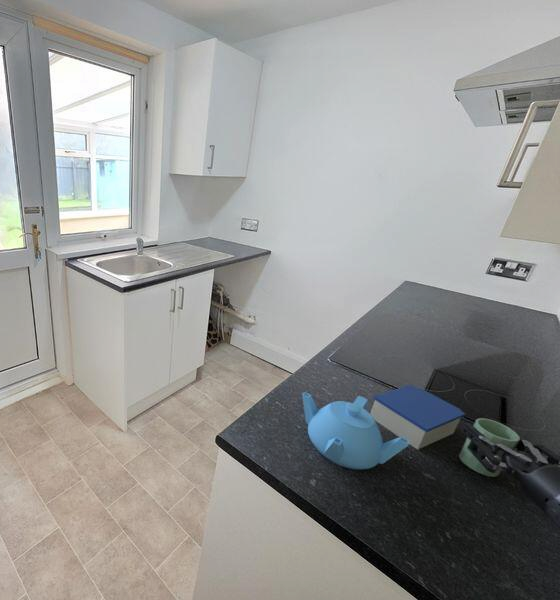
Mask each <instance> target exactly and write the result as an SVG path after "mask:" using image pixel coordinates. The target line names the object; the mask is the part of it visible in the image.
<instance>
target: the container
mask: <svg viewBox="0 0 560 600" xmlns="http://www.w3.org/2000/svg"><path fill="white" fill-rule="evenodd" d="M373 400H374V401H373V405H372V407H371V410H370V412H369V413H370V414H371V415H372V417H373V418H374V420H375V422H376V423H378V424H379V425H381V426H383V427H384V428H385V429H387V430H388V431H389V432H392V434H393V435H395V436H397V438H399V437H400V436H401V437H403V438H405V439H407V440H409V445H410V446H412V447H413V448H414V449H415V450H420V449H422V448H424V447H427V446H429V445H431V444H434V443H436V442H438V441H440V440H442V439H444V438H447V437H449V436H451V435H454V433H455V431H456V429H457V427H458V425H459V422H460V421H461V419H462V418H463V417H465V416H466V413H465V412H463V411H462V408H459V407H457V406H455V405H453V404H451V403H450V402H448V401H445V400H444V399H442V398H440V397H439V396H436V395H434V394H432V393H430V392H429V391H427V390H425V389H423V388H421V387H416V386H414V385H413V384H408V385H405V386H402V387H399V388H396V389H393V390H389V391H387V392H383V393H379V394H377V395H374V396H373Z"/></svg>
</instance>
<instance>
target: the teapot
mask: <svg viewBox="0 0 560 600" xmlns="http://www.w3.org/2000/svg"><path fill="white" fill-rule="evenodd" d="M301 397H302V405H303V411H304V412H303V413H304V418H305V423H306V424H307V433H308V437H309V439H310V441H311V442H312V445H313V446H314V447H315V448H316V450H317V451H318V452H319V453H320V454H321V455H322V456H323V457H324V458H325V459H327V460H328V461H330V462H331V463H334V464H335V465H338V466H339V467H342V468H346V469H350V470H368V469H372V468H374V467H376V466H377V465H378V464H381V465H383V464H385V463H386V462H388V461H389V460H390V459H392V458H393V457H394V456H396V455H397V454H399V453H400V452H402V451H403V450H404V449H406V448H407V447H408V446H409V445H410V444H409V440H407V439H405V438H403V437H401V436H400V437H396V438H394V439H391V440H388V441H386V442H384V441H383V438H382V434H381V431H380V429H379V426H378V424H377V421H375V420H374V418H373V417H372V415H371V414H370V413H371V412H369V411H368V410H367V406H368V403H369V399H367V398H365V397H364V396H361V395H358V396H357V397H356V398H355V400H354V401H353V402H350V401H345V400H337V401H333V402H330V403H328V404H326V405H324V406H323V407H321V408H319V409H318V407H317V405H316V403H315V401H314V399H313V397H312V394H310V393H308V392H306V391H303V393H302V394H301Z"/></svg>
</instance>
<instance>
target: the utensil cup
mask: <svg viewBox="0 0 560 600" xmlns="http://www.w3.org/2000/svg"><path fill="white" fill-rule="evenodd" d="M472 426H473V427H475V428H476V429H477V430H478V431H479V432H480V433H482V434H483V435H484V437H486V438H487V439H489V440H491V441H493V442H494V443H497V444H498V443H501V444H503V445H505V446H506V447H508V448H510V449H512V450H514V451H515V450H516V448H515V447H516V446H517V444H518V442H519V440H520V438H521V437H520V435H519V434H518V433H517V432H516V431H515V430H513V429H512V428H510V427H509V426H507V425H506V424H503V423H501V422H498V421H496V420H493V419H489V418H485V417H483V418H482V417H479V418H476V419H475V421H474V423H473V424H472ZM470 441H471V440H470V439H469V438H468V437H467V436H466V439H465V441H464V443H463V444H462V447H461V449H460V451H459V454H458V457H459V459H460V461H461V462H462V463H463V464H464V465H465V466H467V467H468V468H469V469H471V470H472V471H474V472H476V473H478V474H481V475H483V476H487V477H492V478H495V477H498V476H500V474H501V473H502V471H501V470H496V471H495V473H491V472H489V471H487V470H486V469H485V467H484V466H483V465H482V464H481V463H480V462H479V461H478V460H477V459H476V457H475V456H474V455H473V454H472V453H471V452H470V451H469V450H468V448H467V446H468V445H469V443H470ZM485 446H486V447H487V448H488V449H489V450H490V451H492V447H491V446H489V445H487V444H486V445H485ZM503 454H504V451H502V450H501V451H500V453H499V455H498V457H499V458H500V459H501V457H502V455H503ZM501 460H502V459H501Z"/></svg>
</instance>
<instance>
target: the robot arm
mask: <svg viewBox="0 0 560 600" xmlns="http://www.w3.org/2000/svg"><path fill="white" fill-rule="evenodd" d="M460 431H461V433H462V434H463V435H464V436H466V438H467V437H468V438H469V439H470V440H471V441H470V443H469V445H468V446H467V448H468V450H469V451H470V452H471V453H472V454H473V455H474V456H475V457H476V459H477V460H478V461H479V462H480V463H481V464H482V465H483V466H484V467H485V469H486V470H487V471H489V472H491V473H495V471H496V470H501V472H505V473H506V474H507V475H509V476H510V477H512V478H513V479H515V480H517V481H518V483H519V485H520V488H521V491H522V492H523V494H524V495H525V496H526V497H527V498H528V499H530V500H531V502H533V503H534V504H535V505H536V506H537V507H538V508H539V509H540V510H541V511H542V512H543V513H544V514H545V515H547V516H548V517H549V518H550V519H551V520H552V521H553V522H554V523H555V524H556V525H557V526H559V527H560V456H559V455H558V454H556V453H555V452H553V451H552V450H551V449H549V448H547V447H546V446H544V445H543V444H540V443H537V442H536V443H535V444H532V443H531V442H530V441H528V440H526V439H522V438H521V437H520V440H519V442H518V444H517V446H516V447H515V449H514V450H512V449H510V448H508V447H506V446H505V445H503V444H501V443H498V444H497V443H494V442H493V441H491V440H489V439H487V438H486V437H484V435H483V434H482V433H480V432H479V431H478V430H477V429H476V428H475V427H473V424H471V423H469V422H464V423H463V425H462V427H461V430H460ZM486 444H487V445H489V446H491V447H492V451H490V450H489V449H488V448H487V447H486V446H485V445H486ZM501 450H502V451H504V454H503V455H502V457H501V459H502V460H501V459H500V458H499V457H498V455H499V453H500V451H501ZM543 453H544V454H545V455H546V456H547V458H546V457H543Z"/></svg>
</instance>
